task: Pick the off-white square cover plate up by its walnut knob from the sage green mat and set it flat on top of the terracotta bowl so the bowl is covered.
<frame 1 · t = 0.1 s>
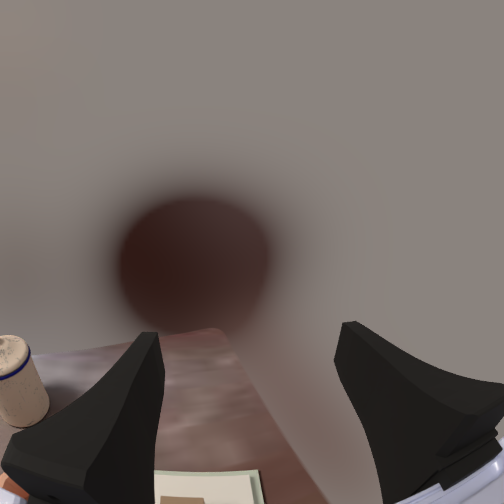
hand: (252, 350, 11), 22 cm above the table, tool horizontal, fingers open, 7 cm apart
teacup with lid: (17, 407, 26), on the table
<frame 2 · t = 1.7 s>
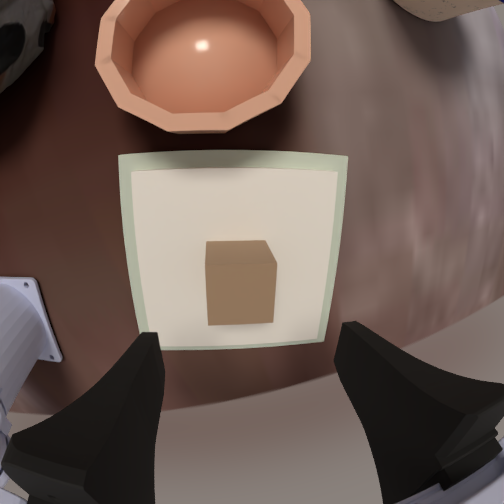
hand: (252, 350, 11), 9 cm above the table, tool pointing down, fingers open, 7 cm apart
cover plate: (234, 262, 19), resting on mat
bowl: (204, 55, 14), on the table
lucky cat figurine: (0, 32, 10), on the table
mat: (234, 260, 19), on the table
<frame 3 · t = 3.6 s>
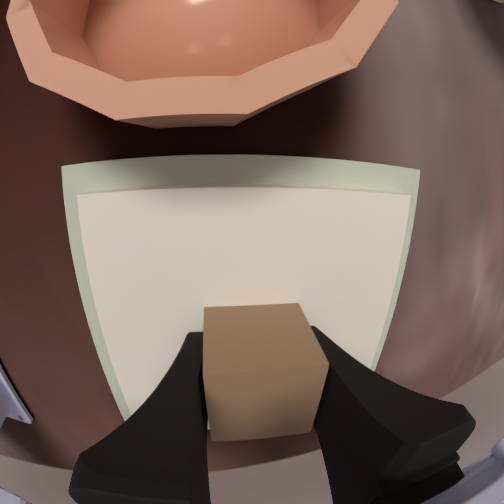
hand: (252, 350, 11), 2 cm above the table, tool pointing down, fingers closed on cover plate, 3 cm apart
cover plate: (248, 330, 12), resting on mat, touching gripper
bowl: (200, 3, 8), on the table
mat: (247, 325, 12), on the table
when the fingers open (7 cm above the table, at t = 6.5 s): cover plate stays where it is, resting on bowl.
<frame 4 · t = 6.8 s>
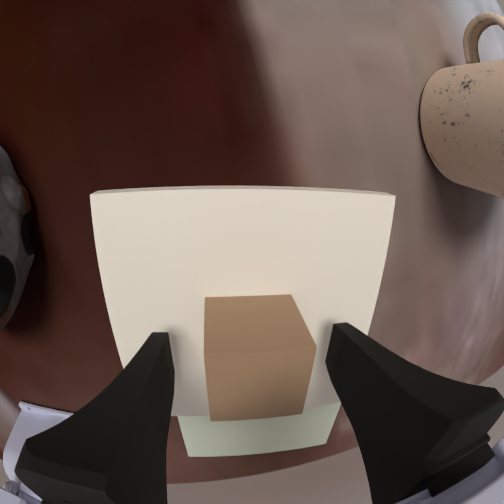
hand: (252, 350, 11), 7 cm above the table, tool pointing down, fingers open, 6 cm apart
teacup with lid: (454, 105, 15), on the table
cover plate: (245, 320, 13), point 4 cm above the table, touching bowl
mat: (261, 411, 22), on the table
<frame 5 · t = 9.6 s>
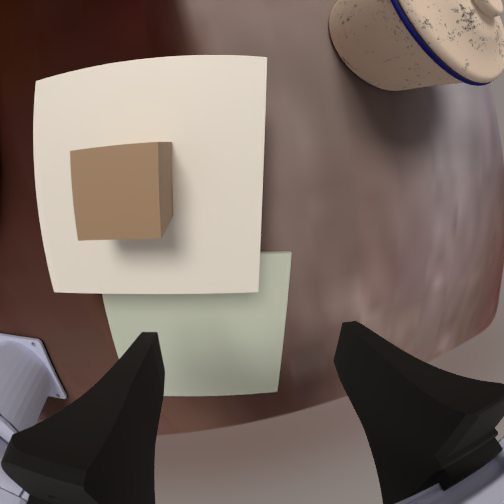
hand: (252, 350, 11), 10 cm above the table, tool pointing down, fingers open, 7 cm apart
teacup with lid: (372, 24, 16), on the table
cover plate: (140, 178, 14), point 4 cm above the table, touching bowl
mat: (196, 335, 23), on the table
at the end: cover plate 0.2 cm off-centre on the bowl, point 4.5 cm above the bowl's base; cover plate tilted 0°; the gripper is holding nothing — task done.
